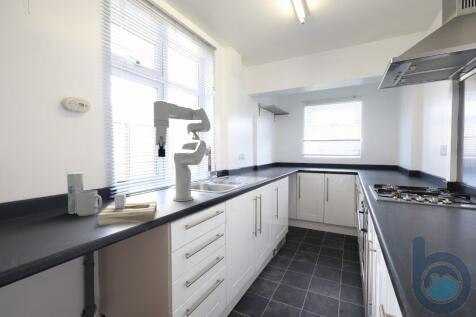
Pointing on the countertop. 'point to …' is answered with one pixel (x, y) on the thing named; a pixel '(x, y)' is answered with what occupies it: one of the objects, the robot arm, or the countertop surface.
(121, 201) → the peg
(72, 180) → the tall grey container
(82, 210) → the mug
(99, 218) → the keyhole plate
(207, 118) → the robot arm
